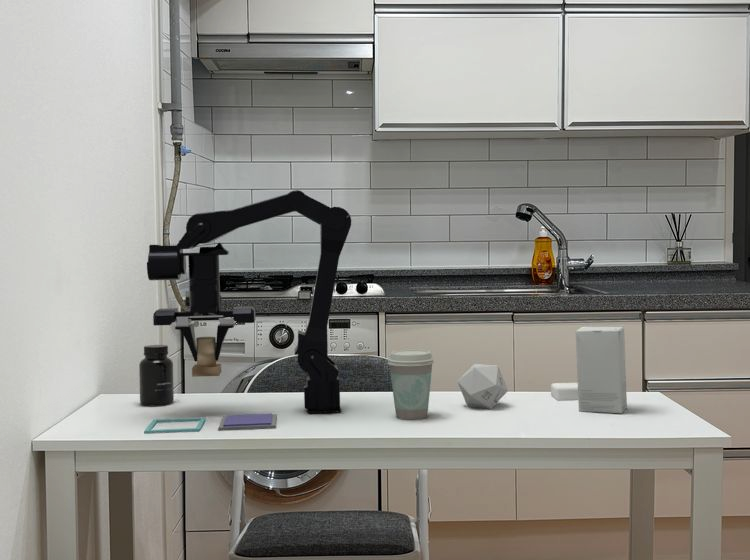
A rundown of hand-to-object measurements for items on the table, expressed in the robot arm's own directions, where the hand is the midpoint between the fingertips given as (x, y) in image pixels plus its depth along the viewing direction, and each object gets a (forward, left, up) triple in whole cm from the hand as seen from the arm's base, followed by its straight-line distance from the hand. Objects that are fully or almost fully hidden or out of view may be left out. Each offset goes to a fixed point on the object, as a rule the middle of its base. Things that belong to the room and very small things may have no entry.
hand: (206, 360), depth 160 cm
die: (-53, +2, -11) cm, 54 cm away
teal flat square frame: (+5, +9, -10) cm, 15 cm away
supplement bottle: (+12, -14, -11) cm, 21 cm away
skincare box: (-74, +10, -11) cm, 76 cm away
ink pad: (-8, +9, -10) cm, 16 cm away
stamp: (0, 0, -3) cm, 3 cm away
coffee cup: (-38, +9, -11) cm, 41 cm away
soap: (-73, -3, -11) cm, 74 cm away
